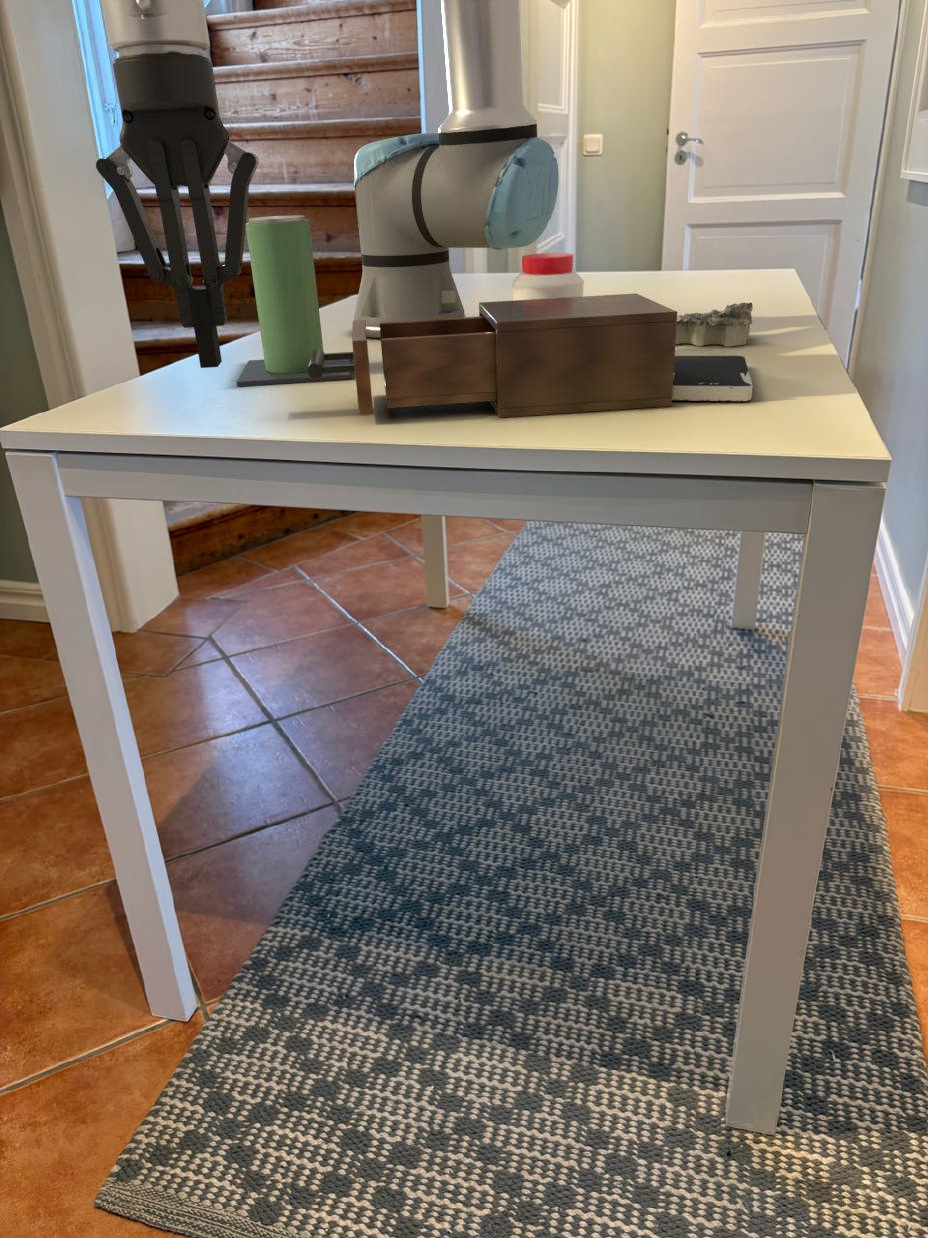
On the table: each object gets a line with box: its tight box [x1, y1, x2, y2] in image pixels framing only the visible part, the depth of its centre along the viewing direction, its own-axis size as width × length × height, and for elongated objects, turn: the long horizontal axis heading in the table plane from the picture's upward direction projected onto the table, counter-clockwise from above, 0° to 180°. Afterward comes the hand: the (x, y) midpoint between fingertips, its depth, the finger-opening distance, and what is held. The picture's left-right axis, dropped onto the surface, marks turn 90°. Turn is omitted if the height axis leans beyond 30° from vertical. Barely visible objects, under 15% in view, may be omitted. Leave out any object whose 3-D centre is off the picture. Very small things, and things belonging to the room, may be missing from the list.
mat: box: [235, 359, 352, 387], centre depth 101 cm, size 12×12×1 cm
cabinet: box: [478, 293, 678, 419], centre depth 83 cm, size 16×13×8 cm
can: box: [245, 214, 325, 373], centre depth 97 cm, size 7×7×15 cm
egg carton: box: [675, 302, 754, 348], centre depth 106 cm, size 11×8×4 cm
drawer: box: [307, 315, 497, 416], centre depth 82 cm, size 19×11×6 cm, turn 96°
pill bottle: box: [511, 252, 585, 301], centre depth 98 cm, size 8×8×11 cm
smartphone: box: [672, 355, 754, 402], centre depth 87 cm, size 8×1×15 cm
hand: (211, 364), depth 80 cm, fingers closed
